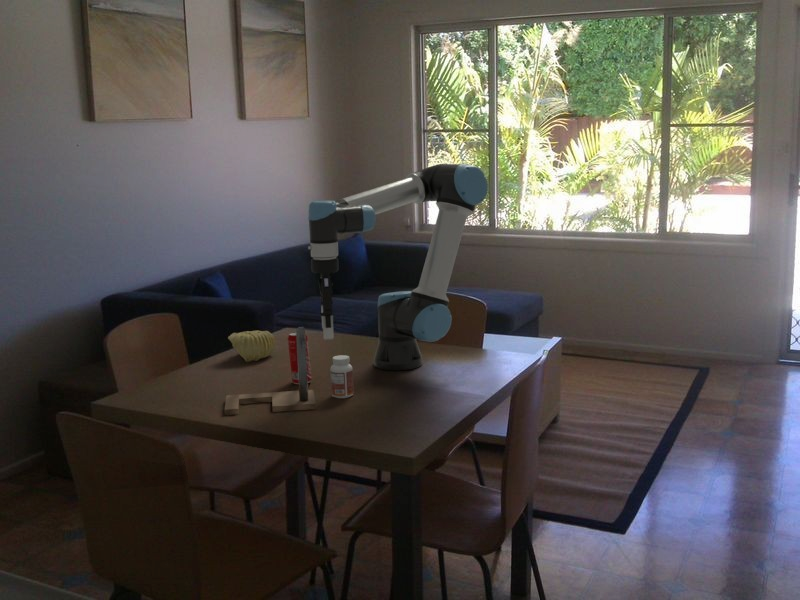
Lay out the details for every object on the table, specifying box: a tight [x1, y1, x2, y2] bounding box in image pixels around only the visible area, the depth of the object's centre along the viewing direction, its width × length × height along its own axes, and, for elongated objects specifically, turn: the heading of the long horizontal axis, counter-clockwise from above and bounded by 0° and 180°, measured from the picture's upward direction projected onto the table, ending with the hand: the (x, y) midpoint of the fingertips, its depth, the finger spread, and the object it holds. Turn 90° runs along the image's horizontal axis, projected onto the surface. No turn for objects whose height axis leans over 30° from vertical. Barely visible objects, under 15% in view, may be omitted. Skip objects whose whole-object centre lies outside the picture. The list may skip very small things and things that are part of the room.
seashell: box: [227, 329, 276, 363], centre depth 294 cm, size 17×11×15 cm
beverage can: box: [287, 331, 313, 385], centre depth 264 cm, size 6×6×15 cm
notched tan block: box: [224, 389, 317, 416], centre depth 244 cm, size 24×13×2 cm, turn 98°
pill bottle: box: [330, 355, 355, 399], centre depth 250 cm, size 6×6×11 cm
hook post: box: [295, 326, 309, 402], centre depth 238 cm, size 2×8×23 cm, turn 8°
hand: (327, 333), depth 249 cm, fingers open, 13 cm apart
